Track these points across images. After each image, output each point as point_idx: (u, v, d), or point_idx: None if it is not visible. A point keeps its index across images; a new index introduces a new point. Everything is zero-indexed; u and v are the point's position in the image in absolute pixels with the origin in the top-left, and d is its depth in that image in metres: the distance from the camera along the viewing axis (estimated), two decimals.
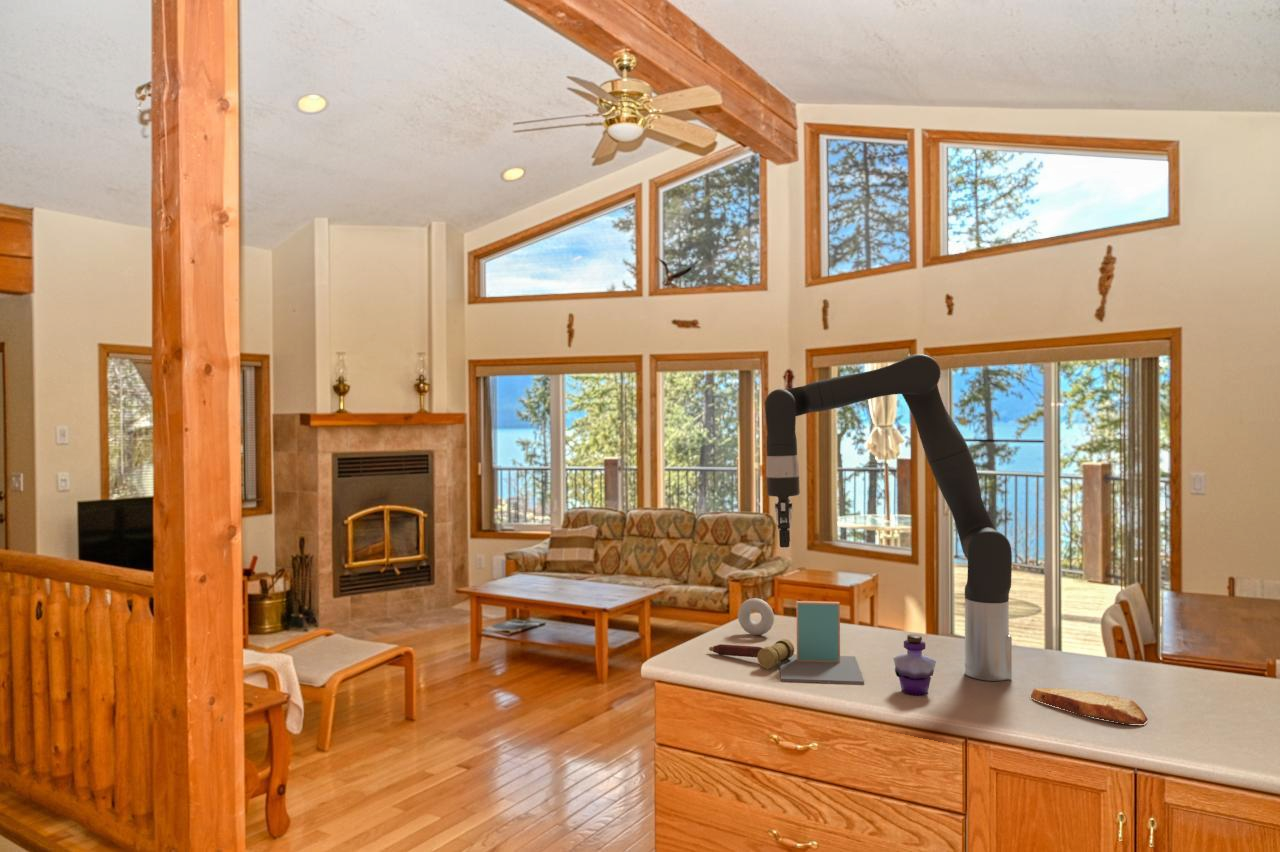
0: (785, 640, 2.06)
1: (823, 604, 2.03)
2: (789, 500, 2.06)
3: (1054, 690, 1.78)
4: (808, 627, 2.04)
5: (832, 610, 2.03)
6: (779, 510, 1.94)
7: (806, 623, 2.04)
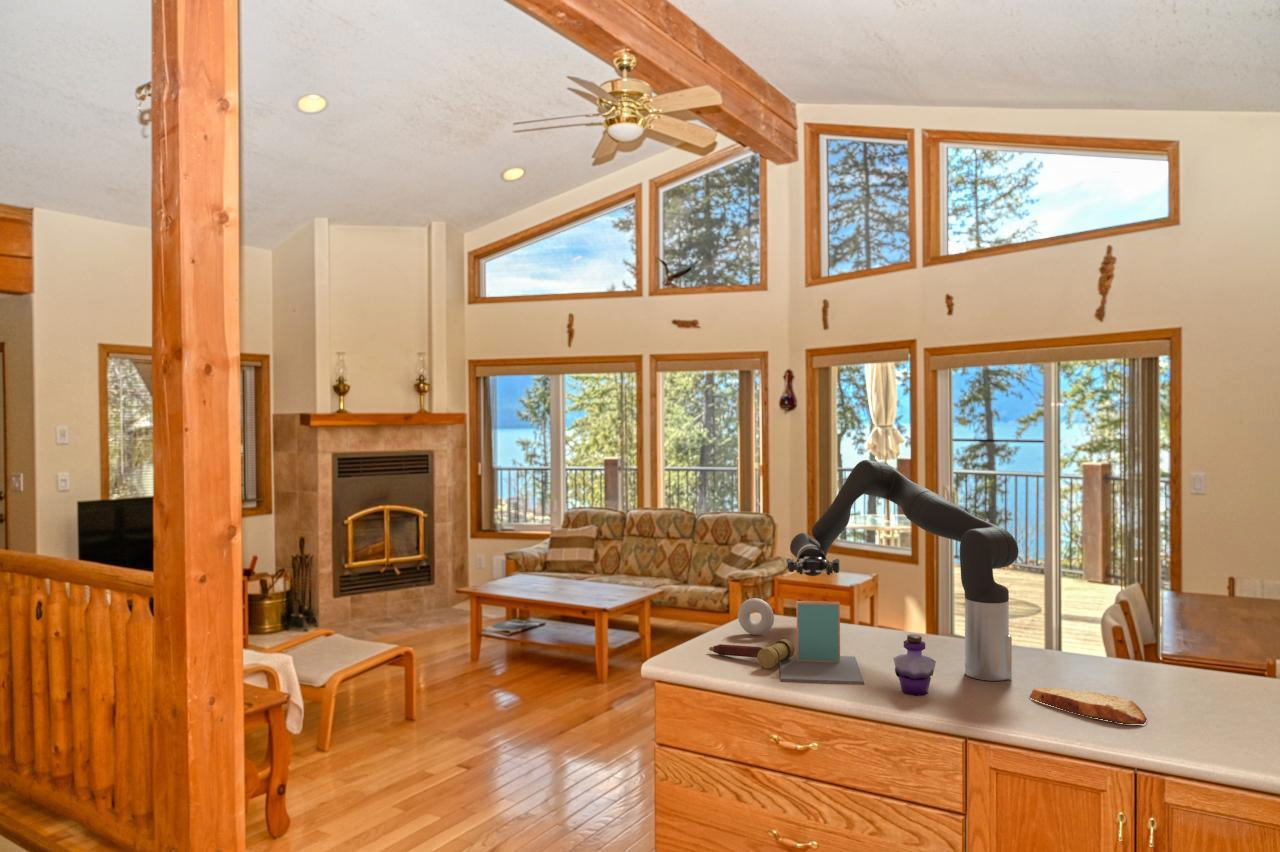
0: (785, 640, 2.06)
1: (823, 604, 2.03)
2: (836, 559, 2.25)
3: (1053, 690, 1.78)
4: (808, 627, 2.04)
5: (832, 610, 2.03)
6: (787, 567, 2.25)
7: (806, 623, 2.04)
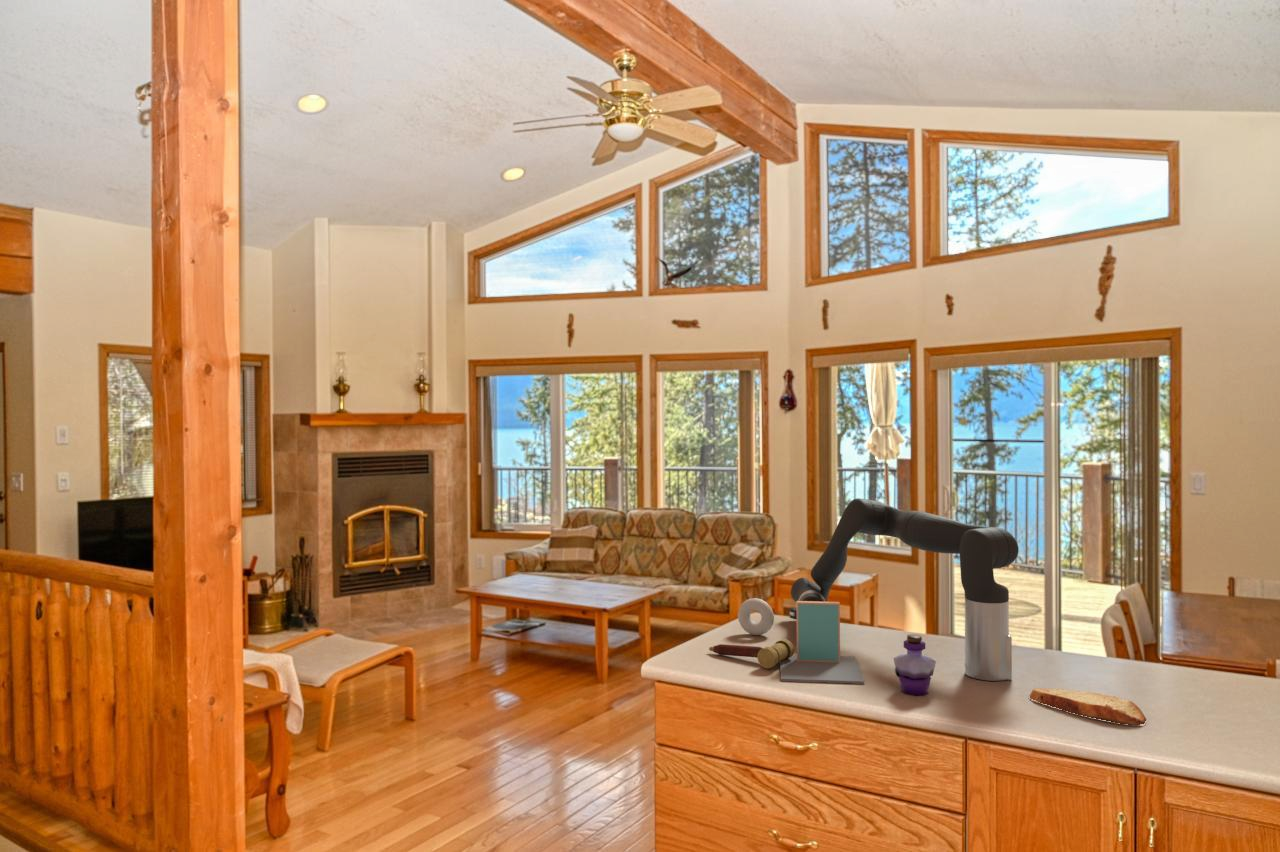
0: (785, 640, 2.06)
1: (823, 604, 2.03)
2: None
3: (1053, 691, 1.78)
4: (808, 627, 2.04)
5: (832, 610, 2.03)
6: (793, 617, 2.23)
7: (806, 623, 2.04)
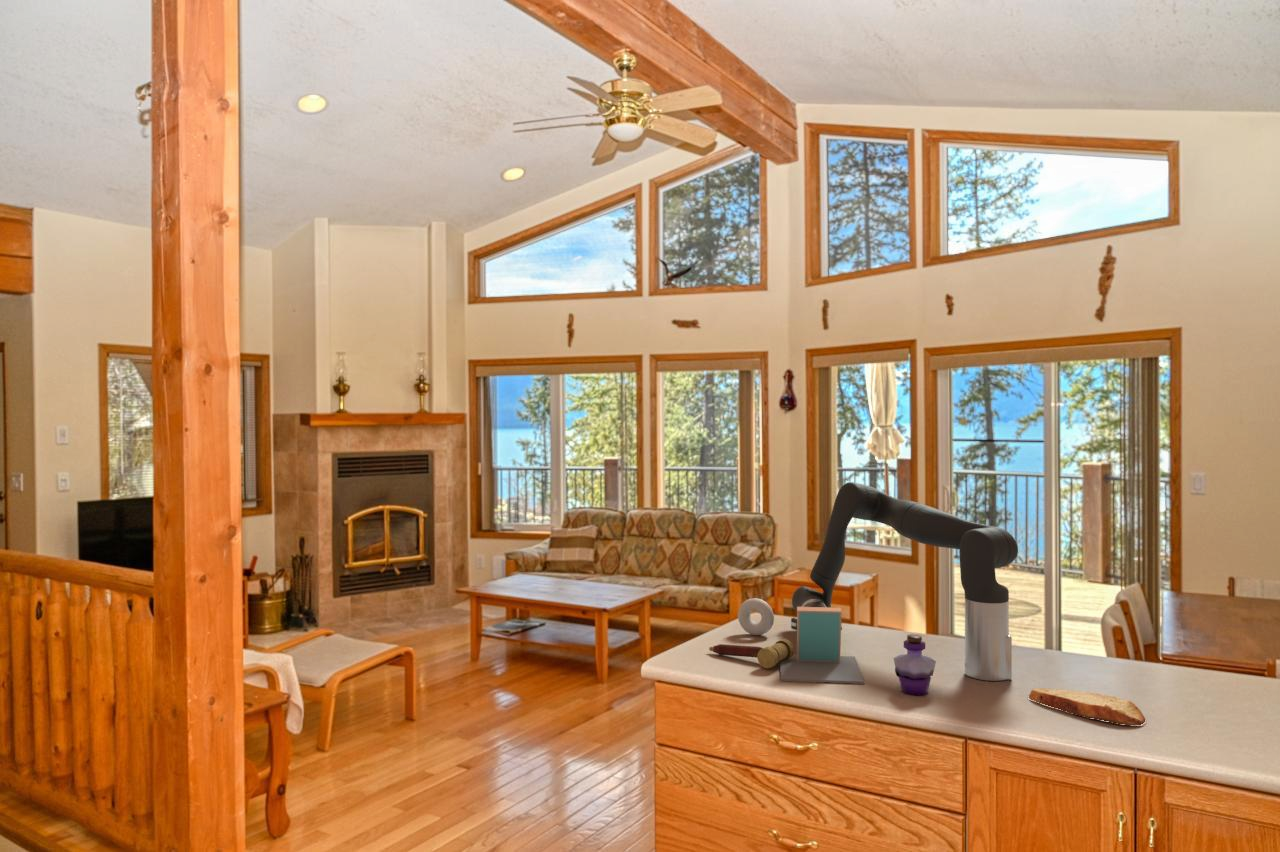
0: (785, 640, 2.06)
1: (824, 612, 1.99)
2: None
3: (1052, 691, 1.78)
4: (809, 632, 2.01)
5: (833, 618, 1.99)
6: (794, 628, 2.12)
7: (806, 629, 2.01)
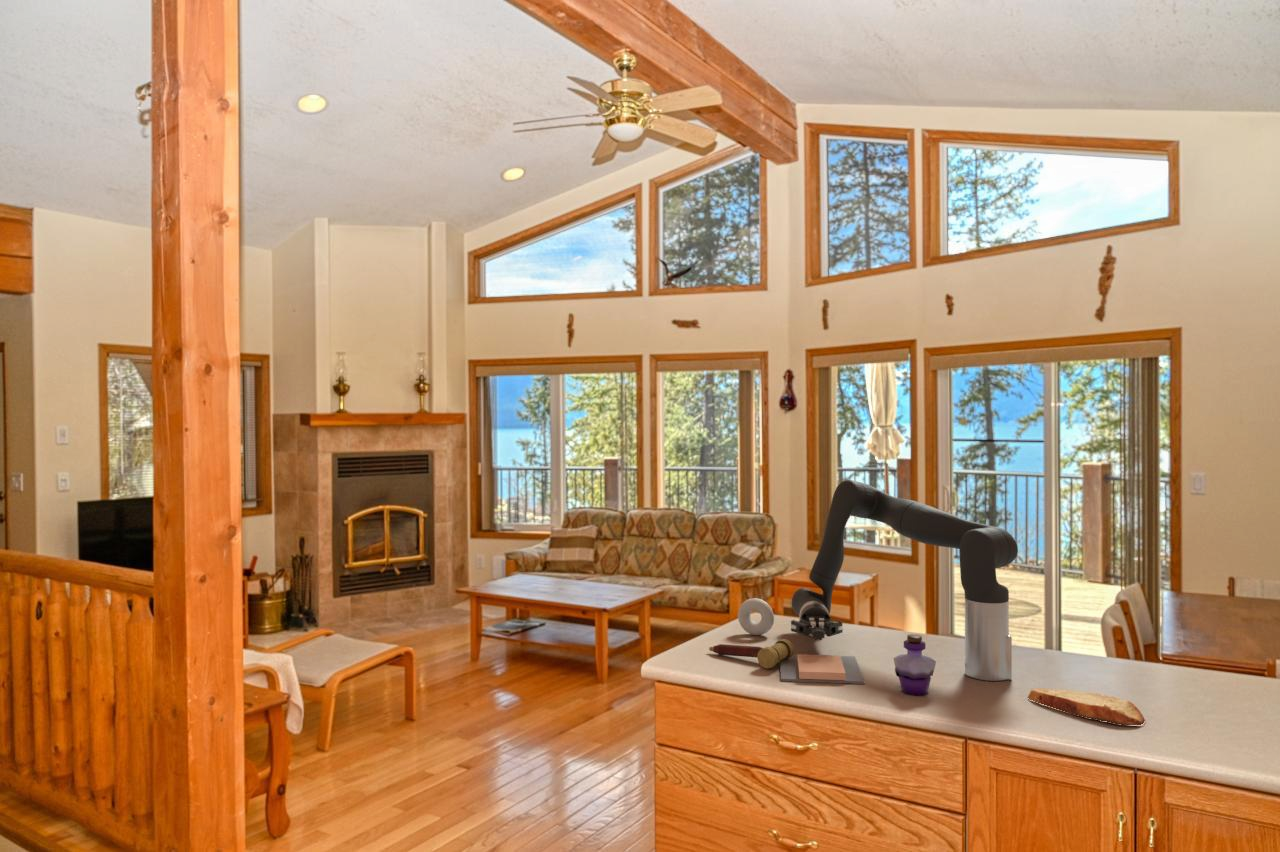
0: (785, 640, 2.06)
1: None
2: (839, 621, 2.09)
3: (1052, 691, 1.78)
4: None
5: None
6: (794, 630, 2.09)
7: None
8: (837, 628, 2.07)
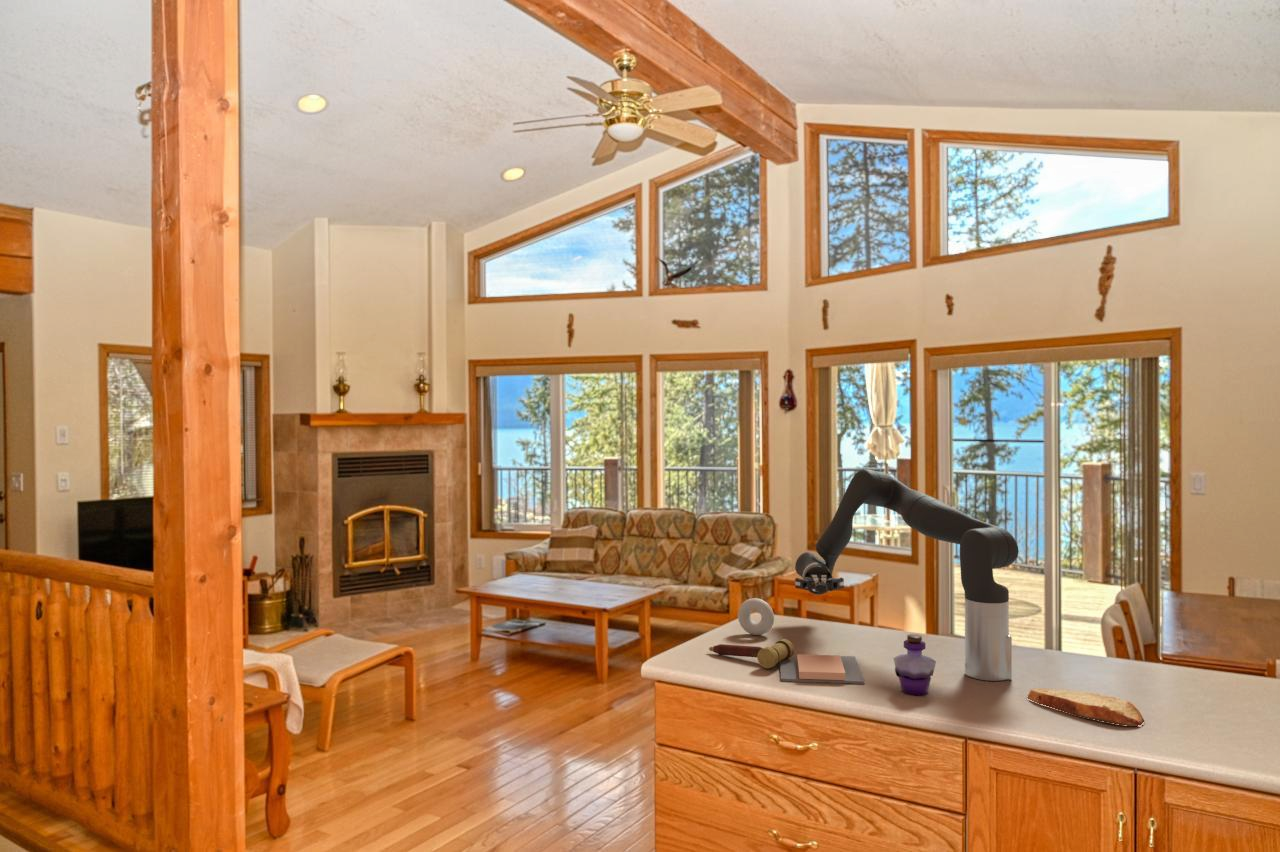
0: (785, 640, 2.06)
1: None
2: None
3: (1051, 691, 1.78)
4: None
5: None
6: (798, 587, 2.21)
7: None
8: (839, 583, 2.19)
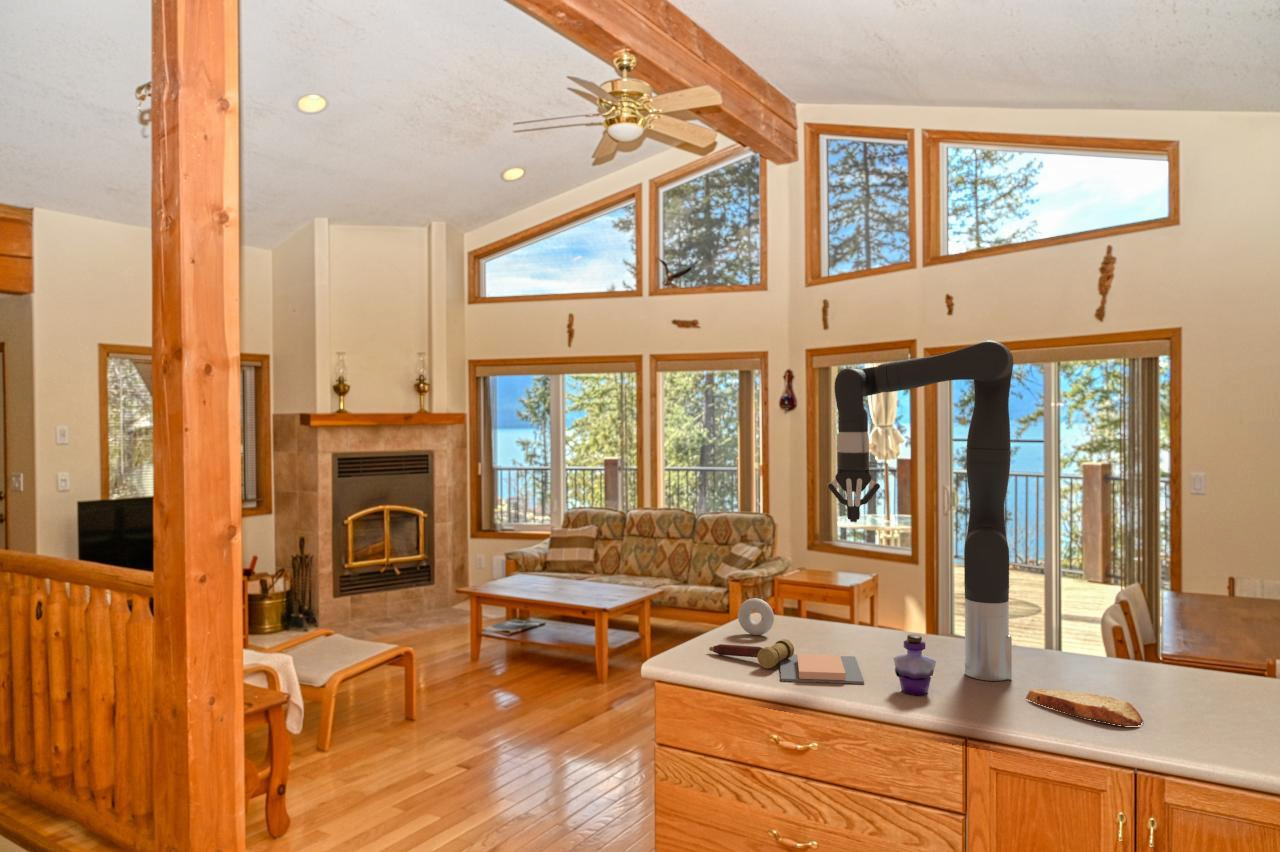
0: (785, 640, 2.06)
1: None
2: (876, 485, 2.08)
3: (1050, 691, 1.77)
4: None
5: None
6: None
7: None
8: None
